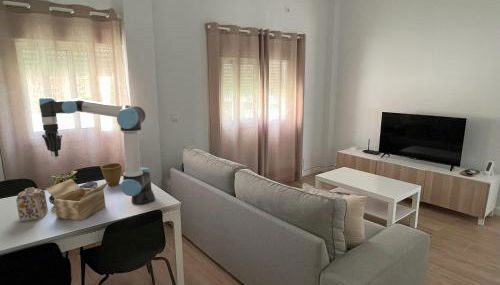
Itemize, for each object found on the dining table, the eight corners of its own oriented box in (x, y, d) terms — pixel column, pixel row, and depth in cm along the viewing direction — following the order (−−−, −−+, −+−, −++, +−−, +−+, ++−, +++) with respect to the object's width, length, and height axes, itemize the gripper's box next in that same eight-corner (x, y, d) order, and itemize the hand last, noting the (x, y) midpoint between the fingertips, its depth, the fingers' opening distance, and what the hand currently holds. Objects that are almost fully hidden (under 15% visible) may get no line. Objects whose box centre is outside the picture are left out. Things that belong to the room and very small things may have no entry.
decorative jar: (41, 219, 182) (37, 190, 178) (19, 221, 179) (13, 193, 175) (48, 211, 193) (44, 184, 189) (27, 213, 190) (22, 186, 186)
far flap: (54, 198, 181) (54, 198, 181) (79, 187, 198) (79, 187, 199) (45, 188, 181) (45, 189, 181) (71, 178, 199) (71, 179, 199)
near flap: (102, 189, 194) (102, 189, 194) (79, 200, 176) (79, 201, 176) (109, 181, 191) (109, 182, 191) (86, 192, 174) (86, 193, 174)
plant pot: (106, 182, 245) (104, 163, 241) (126, 181, 246) (123, 162, 243) (100, 189, 230) (97, 168, 227) (120, 188, 232) (118, 167, 229)
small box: (88, 201, 207) (86, 186, 205) (80, 200, 209) (78, 186, 206) (99, 195, 217) (97, 181, 215) (91, 195, 219) (89, 181, 217)
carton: (106, 206, 198) (104, 189, 195) (80, 221, 178) (78, 202, 175) (83, 204, 202) (81, 187, 200) (56, 218, 182) (53, 199, 180)
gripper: (64, 122, 184) (69, 160, 189) (47, 122, 187) (52, 159, 192) (53, 124, 177) (59, 163, 182) (35, 124, 180) (42, 162, 185)
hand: (56, 161), depth 187 cm, fingers closed
